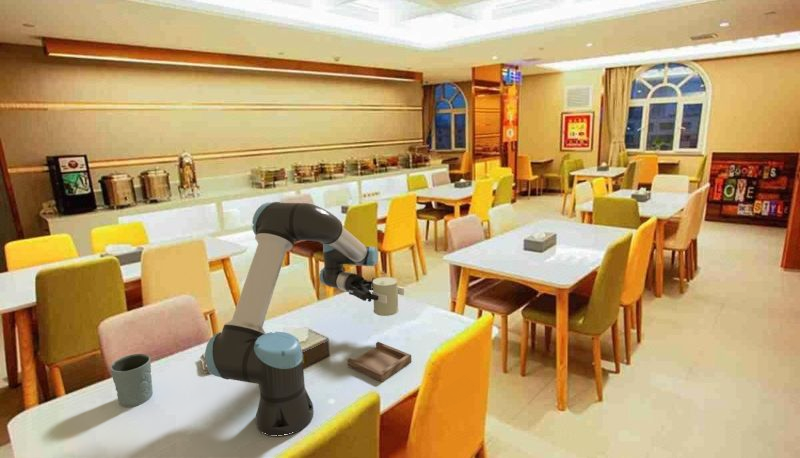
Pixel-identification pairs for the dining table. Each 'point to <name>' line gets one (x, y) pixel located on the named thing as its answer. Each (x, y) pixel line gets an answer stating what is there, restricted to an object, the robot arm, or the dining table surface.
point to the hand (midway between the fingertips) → (395, 295)
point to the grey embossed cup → (132, 379)
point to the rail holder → (380, 362)
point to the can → (389, 289)
